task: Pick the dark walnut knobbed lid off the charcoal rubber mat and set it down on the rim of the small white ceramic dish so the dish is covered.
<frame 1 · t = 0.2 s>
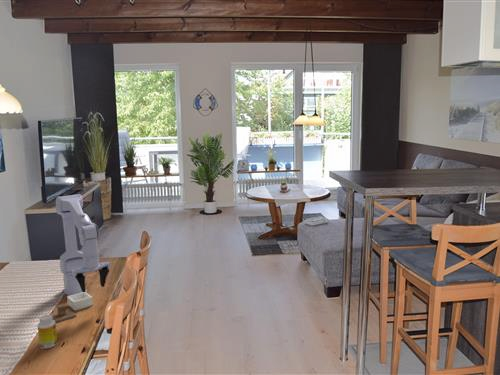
hand: (93, 288, 178), 10 cm above the table, fingers open, 7 cm apart
mat: (62, 317, 176), on the table
supplement bottle: (48, 345, 155), on the table
dish: (80, 305, 186), on the table
lid: (62, 316, 176), resting on mat
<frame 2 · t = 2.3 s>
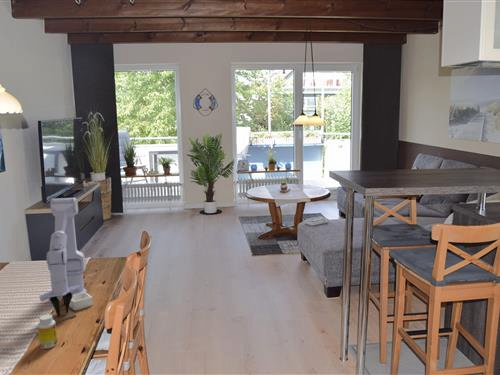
hand: (62, 313, 176), 2 cm above the table, fingers closed on lid, 2 cm apart
lid: (62, 316, 176), resting on mat, touching gripper
everything else where it was.
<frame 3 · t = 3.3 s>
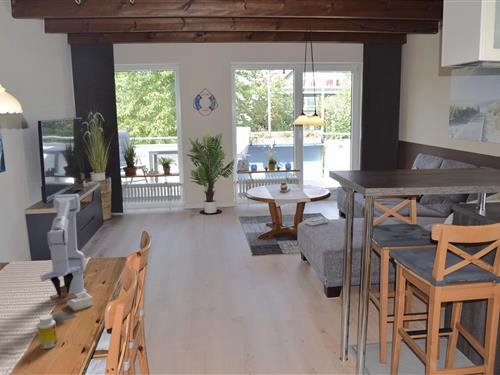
hand: (63, 293, 176), 9 cm above the table, fingers closed on lid, 2 cm apart
lid: (63, 297, 177), point 7 cm above the table, touching gripper
everything else where it was.
when the fingers open (7 cm above the table, at t = 4.6 s): lid stays where it is, resting on dish.
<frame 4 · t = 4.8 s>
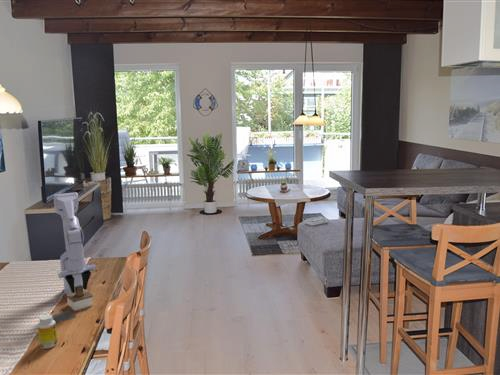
hand: (79, 290, 185), 7 cm above the table, fingers open, 4 cm apart
lid: (79, 296, 185), point 4 cm above the table, touching dish
everything else where it was.
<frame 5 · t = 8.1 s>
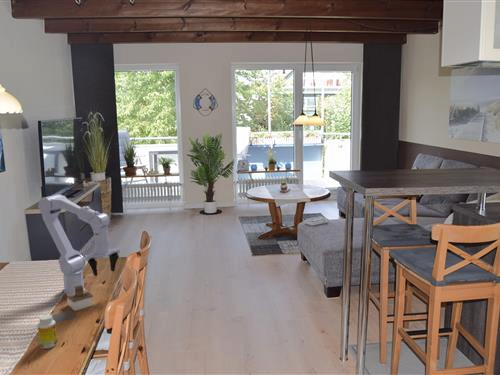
hand: (104, 273, 194), 10 cm above the table, fingers open, 7 cm apart
nothing on the table moved.
at the end: lid 0.1 cm off-centre on the dish, point 4.0 cm above the dish's base; lid tilted 0°; the gripper is holding nothing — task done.
